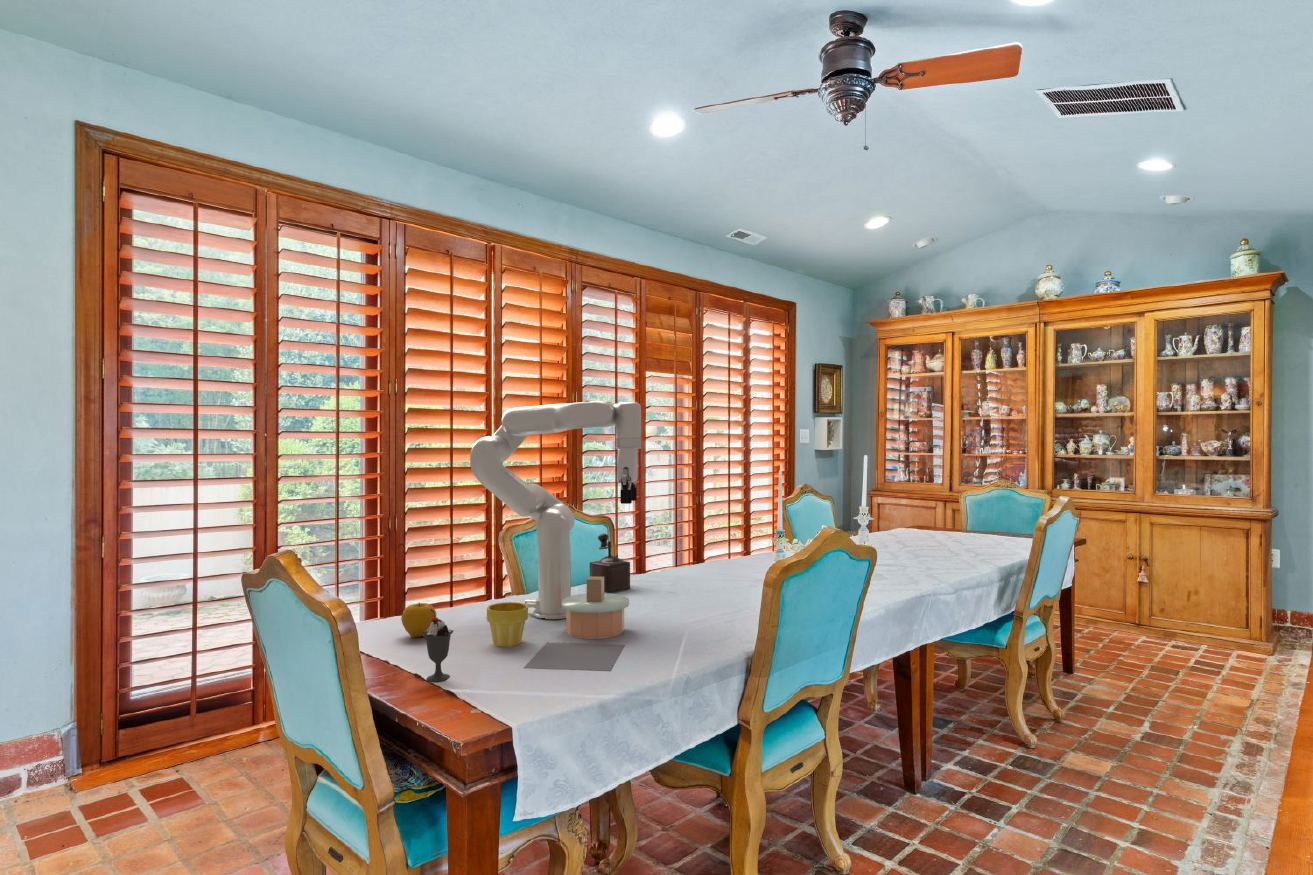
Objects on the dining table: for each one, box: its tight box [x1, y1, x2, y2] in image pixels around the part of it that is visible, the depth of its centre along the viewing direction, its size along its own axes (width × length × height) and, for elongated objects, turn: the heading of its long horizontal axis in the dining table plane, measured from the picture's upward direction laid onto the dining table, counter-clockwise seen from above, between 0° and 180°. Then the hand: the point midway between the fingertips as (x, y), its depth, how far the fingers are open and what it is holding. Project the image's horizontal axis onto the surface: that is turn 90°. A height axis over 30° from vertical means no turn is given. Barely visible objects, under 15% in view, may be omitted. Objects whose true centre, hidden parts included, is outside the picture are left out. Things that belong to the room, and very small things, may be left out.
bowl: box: [565, 608, 625, 640], centre depth 192 cm, size 15×15×8 cm
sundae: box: [422, 609, 455, 683], centre depth 156 cm, size 7×7×15 cm
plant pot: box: [486, 601, 529, 648], centre depth 181 cm, size 10×10×10 cm
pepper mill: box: [589, 533, 631, 594], centre depth 249 cm, size 16×11×18 cm
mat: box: [523, 641, 626, 672], centre depth 170 cm, size 20×20×1 cm
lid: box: [562, 575, 630, 613], centre depth 192 cm, size 18×18×7 cm
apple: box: [400, 602, 437, 638], centre depth 189 cm, size 9×9×9 cm
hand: (628, 501), depth 211 cm, fingers open, 9 cm apart
